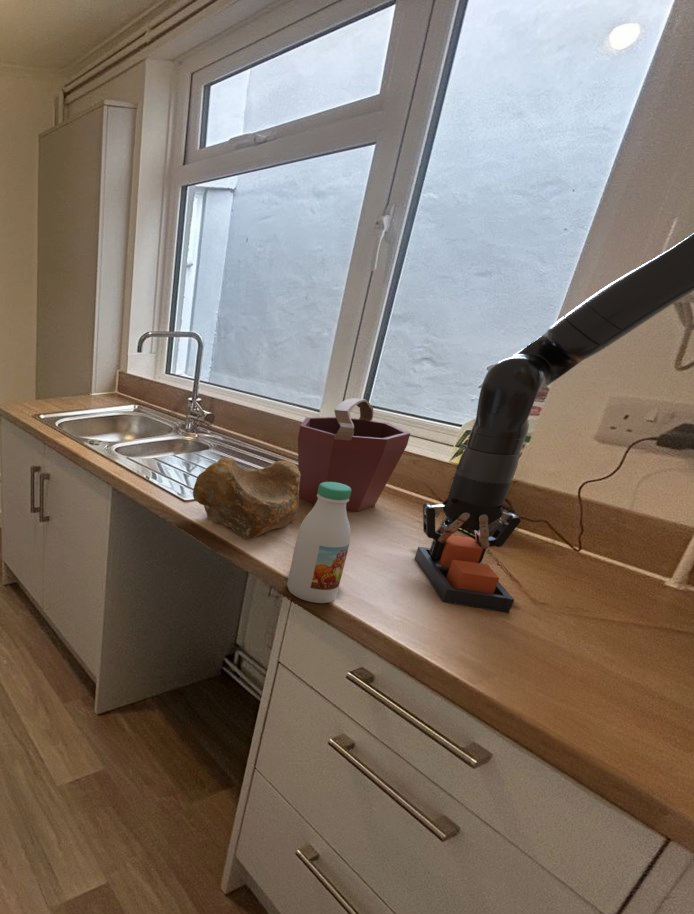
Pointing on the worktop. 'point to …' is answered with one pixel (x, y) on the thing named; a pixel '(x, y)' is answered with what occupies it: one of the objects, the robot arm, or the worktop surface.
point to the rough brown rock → (249, 496)
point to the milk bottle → (321, 546)
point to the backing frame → (460, 596)
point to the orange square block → (472, 576)
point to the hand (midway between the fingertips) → (453, 560)
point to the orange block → (460, 550)
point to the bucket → (349, 453)
